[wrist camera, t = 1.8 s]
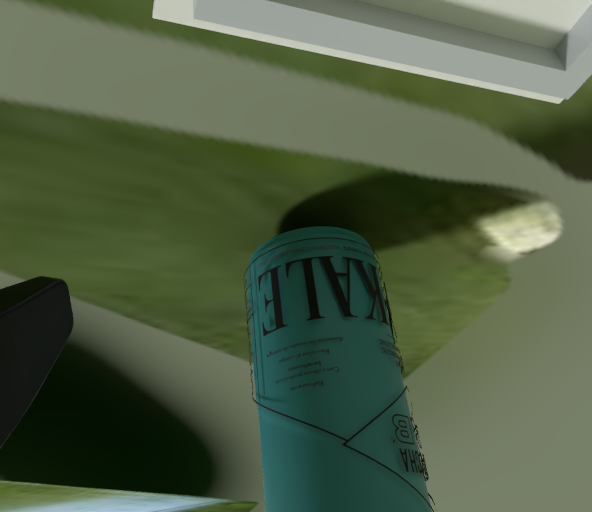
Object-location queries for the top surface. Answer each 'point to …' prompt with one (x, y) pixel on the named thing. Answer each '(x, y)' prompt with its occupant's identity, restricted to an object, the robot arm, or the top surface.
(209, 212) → the top surface
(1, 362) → the robot arm
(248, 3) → the white square tray
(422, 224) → the top surface
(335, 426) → the beverage bottle
